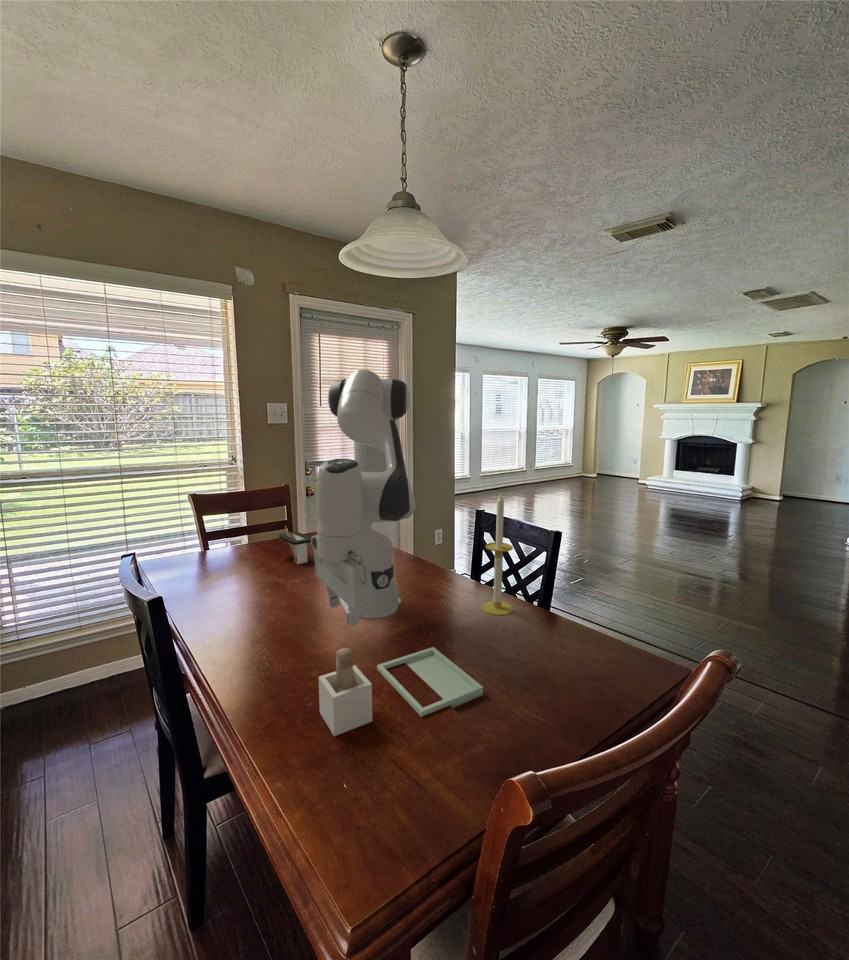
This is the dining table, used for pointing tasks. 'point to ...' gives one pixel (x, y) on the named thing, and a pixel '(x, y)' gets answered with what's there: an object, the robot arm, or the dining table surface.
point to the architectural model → (297, 544)
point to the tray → (435, 680)
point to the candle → (498, 566)
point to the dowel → (344, 669)
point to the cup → (345, 702)
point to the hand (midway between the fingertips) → (343, 614)
